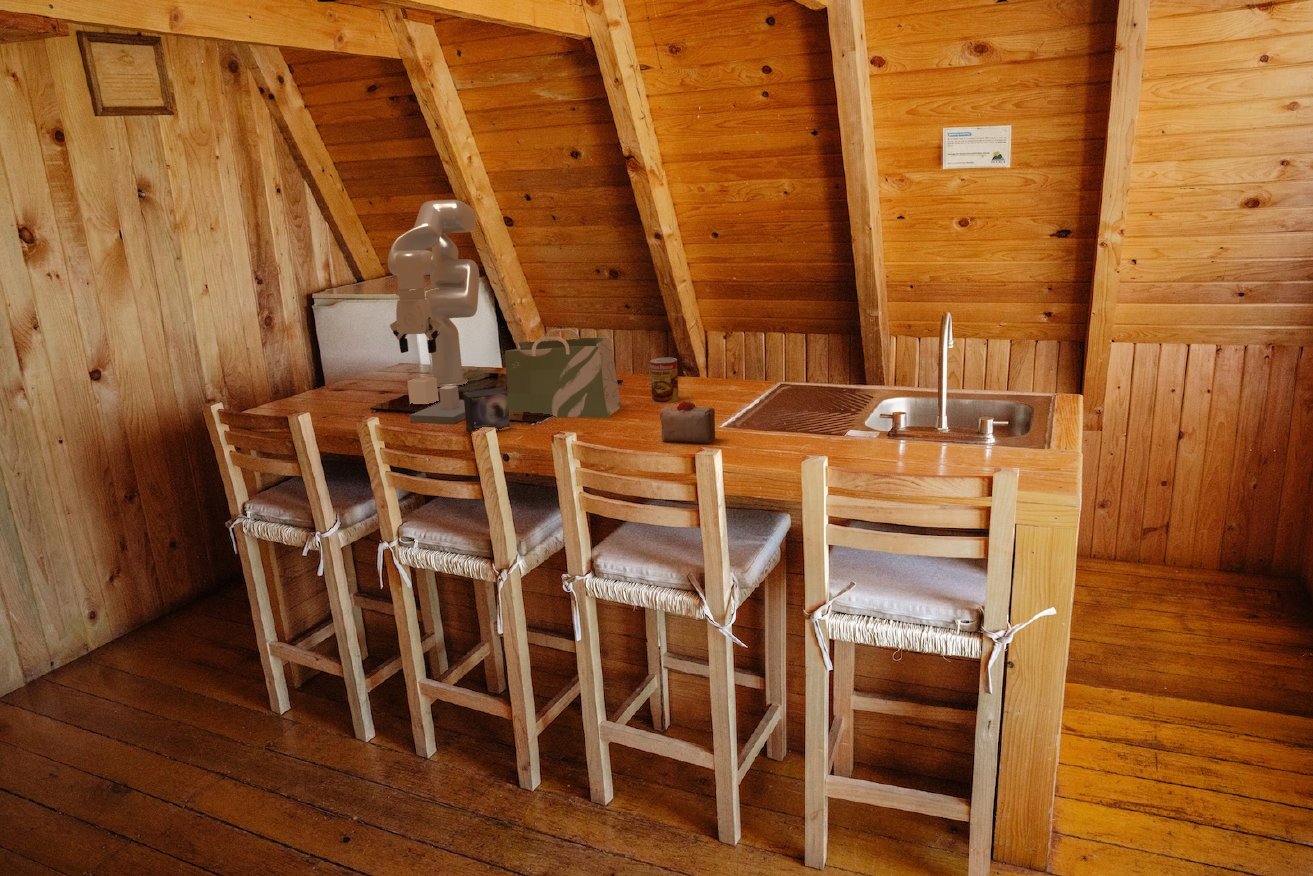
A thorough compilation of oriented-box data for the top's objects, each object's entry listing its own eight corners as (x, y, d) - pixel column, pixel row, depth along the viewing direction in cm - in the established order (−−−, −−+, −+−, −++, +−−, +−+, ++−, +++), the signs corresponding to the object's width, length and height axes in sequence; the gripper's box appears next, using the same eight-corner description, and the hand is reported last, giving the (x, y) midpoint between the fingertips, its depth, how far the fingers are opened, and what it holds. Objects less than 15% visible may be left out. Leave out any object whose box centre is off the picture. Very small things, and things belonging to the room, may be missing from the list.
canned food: (647, 402, 277) (645, 362, 274) (657, 396, 284) (656, 357, 281) (672, 403, 274) (671, 362, 271) (682, 397, 281) (680, 357, 278)
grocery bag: (501, 415, 270) (493, 334, 264) (521, 404, 282) (514, 327, 276) (607, 418, 261) (602, 335, 255) (623, 407, 274) (618, 327, 268)
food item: (656, 443, 234) (654, 404, 231) (666, 435, 241) (665, 397, 239) (710, 445, 230) (708, 406, 227) (718, 437, 237) (717, 398, 234)
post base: (448, 405, 285) (445, 379, 283) (489, 407, 280) (487, 380, 278) (410, 422, 267) (407, 394, 265) (454, 424, 262) (451, 395, 260)
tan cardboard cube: (421, 401, 293) (418, 377, 291) (438, 401, 291) (436, 377, 289) (410, 405, 287) (407, 381, 285) (427, 406, 285) (425, 381, 283)
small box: (472, 435, 249) (469, 396, 246) (465, 430, 255) (461, 392, 252) (511, 429, 254) (507, 391, 251) (503, 424, 259) (500, 387, 257)
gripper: (380, 296, 280) (386, 354, 284) (430, 296, 274) (436, 354, 278) (395, 293, 286) (401, 350, 291) (444, 293, 281) (450, 350, 285)
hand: (418, 352), depth 284 cm, fingers open, 9 cm apart
